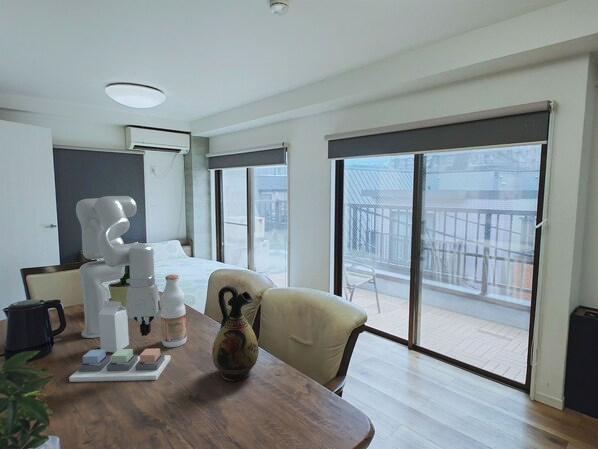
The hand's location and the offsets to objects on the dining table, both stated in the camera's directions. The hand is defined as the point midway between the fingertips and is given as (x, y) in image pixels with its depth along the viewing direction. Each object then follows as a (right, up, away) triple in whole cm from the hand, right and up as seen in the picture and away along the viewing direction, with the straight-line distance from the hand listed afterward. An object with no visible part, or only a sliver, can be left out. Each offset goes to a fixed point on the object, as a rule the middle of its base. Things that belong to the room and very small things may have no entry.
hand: (145, 334), depth 119 cm
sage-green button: (-8, -9, +1) cm, 12 cm away
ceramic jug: (+31, -13, -1) cm, 33 cm away
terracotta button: (+1, -9, +1) cm, 9 cm away
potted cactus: (-36, -7, +60) cm, 71 cm away
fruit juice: (+2, -11, +23) cm, 25 cm away
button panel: (-8, -13, +1) cm, 15 cm away
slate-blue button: (-18, -9, +1) cm, 20 cm away
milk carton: (-20, -11, +18) cm, 29 cm away
